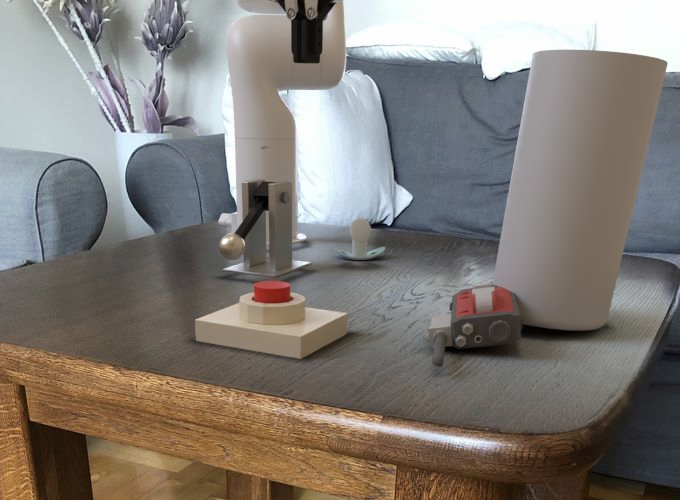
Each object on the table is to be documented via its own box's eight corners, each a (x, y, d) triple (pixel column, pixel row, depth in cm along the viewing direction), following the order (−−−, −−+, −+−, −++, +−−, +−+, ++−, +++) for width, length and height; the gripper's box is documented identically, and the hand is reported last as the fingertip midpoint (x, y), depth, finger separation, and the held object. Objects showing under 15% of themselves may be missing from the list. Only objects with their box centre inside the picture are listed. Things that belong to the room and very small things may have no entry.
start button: (247, 303, 81) (247, 286, 80) (266, 296, 84) (265, 279, 83) (279, 308, 79) (278, 290, 79) (296, 300, 82) (296, 283, 81)
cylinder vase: (600, 338, 81) (667, 54, 71) (476, 318, 85) (523, 46, 75) (609, 319, 92) (668, 70, 82) (498, 302, 96) (542, 63, 86)
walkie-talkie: (434, 318, 90) (426, 379, 73) (430, 278, 88) (421, 330, 71) (516, 308, 88) (528, 369, 71) (514, 267, 86) (526, 319, 69)
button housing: (195, 341, 82) (193, 301, 80) (248, 319, 90) (247, 282, 88) (300, 359, 77) (301, 317, 75) (347, 334, 85) (348, 295, 83)
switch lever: (241, 266, 101) (233, 246, 99) (219, 264, 103) (211, 243, 100) (285, 200, 107) (279, 179, 104) (264, 199, 108) (257, 177, 106)
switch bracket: (275, 284, 105) (274, 187, 99) (222, 278, 108) (219, 182, 103) (311, 271, 113) (312, 179, 107) (261, 265, 116) (260, 176, 111)
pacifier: (387, 270, 114) (382, 261, 119) (389, 224, 111) (385, 216, 116) (334, 270, 114) (332, 260, 119) (335, 223, 111) (333, 215, 116)
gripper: (223, -150, 80) (229, 62, 89) (361, -167, 74) (354, 62, 82) (262, -134, 86) (265, 63, 95) (393, -149, 80) (383, 64, 88)
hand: (306, 62), depth 88 cm, fingers closed
